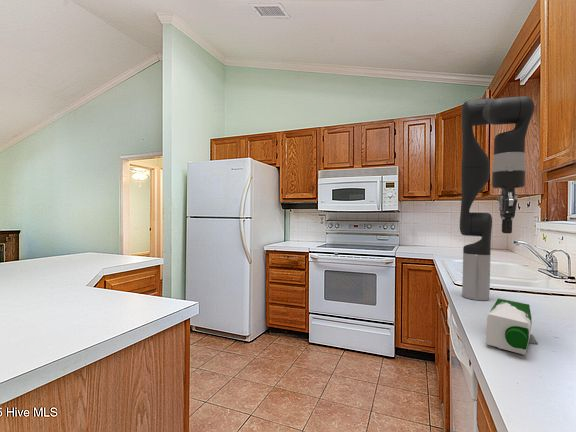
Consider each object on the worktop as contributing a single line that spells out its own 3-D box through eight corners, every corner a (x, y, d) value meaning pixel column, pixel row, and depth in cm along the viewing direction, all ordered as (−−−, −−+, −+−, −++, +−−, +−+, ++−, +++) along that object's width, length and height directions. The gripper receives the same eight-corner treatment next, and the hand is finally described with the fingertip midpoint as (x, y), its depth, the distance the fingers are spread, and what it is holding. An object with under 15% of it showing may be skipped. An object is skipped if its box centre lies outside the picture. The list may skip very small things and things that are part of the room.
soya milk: (530, 333, 86) (527, 362, 71) (491, 323, 92) (480, 348, 76) (533, 301, 86) (531, 323, 70) (494, 294, 91) (483, 312, 76)
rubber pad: (503, 331, 88) (503, 329, 88) (532, 336, 85) (532, 334, 85) (506, 339, 83) (506, 337, 83) (537, 344, 80) (537, 343, 80)
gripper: (489, 173, 96) (488, 231, 96) (495, 168, 84) (493, 234, 84) (520, 172, 92) (518, 232, 93) (530, 167, 81) (528, 235, 81)
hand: (506, 233), depth 89 cm, fingers closed
